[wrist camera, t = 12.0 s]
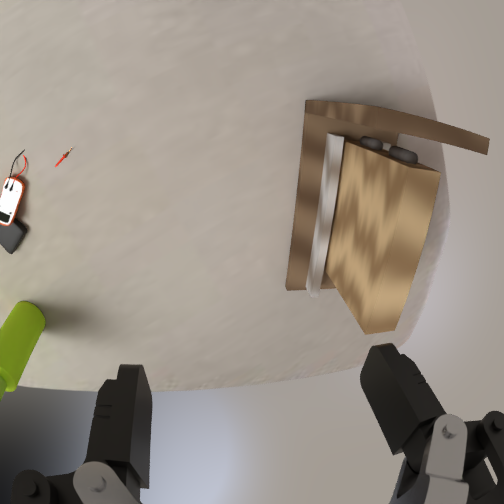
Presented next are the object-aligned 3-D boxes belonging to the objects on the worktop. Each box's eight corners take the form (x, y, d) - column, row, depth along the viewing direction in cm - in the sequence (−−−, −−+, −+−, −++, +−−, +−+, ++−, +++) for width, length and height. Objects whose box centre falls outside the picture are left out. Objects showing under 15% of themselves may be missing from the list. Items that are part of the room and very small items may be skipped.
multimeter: (32, 94, 27) (18, 95, 24) (89, 163, 32) (78, 170, 29) (-34, 193, 30) (-48, 201, 27) (14, 252, 35) (3, 264, 32)
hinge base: (305, 100, 32) (378, 106, 18) (396, 115, 34) (489, 138, 20) (285, 286, 43) (321, 375, 29) (363, 282, 45) (418, 357, 31)
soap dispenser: (30, 292, 38) (-29, 395, 20) (51, 328, 41) (8, 433, 23) (5, 299, 38) (-52, 394, 20) (27, 333, 41) (-18, 430, 23)
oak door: (339, 130, 33) (410, 154, 21) (377, 136, 34) (455, 163, 22) (320, 263, 41) (365, 334, 29) (355, 262, 42) (406, 328, 29)
